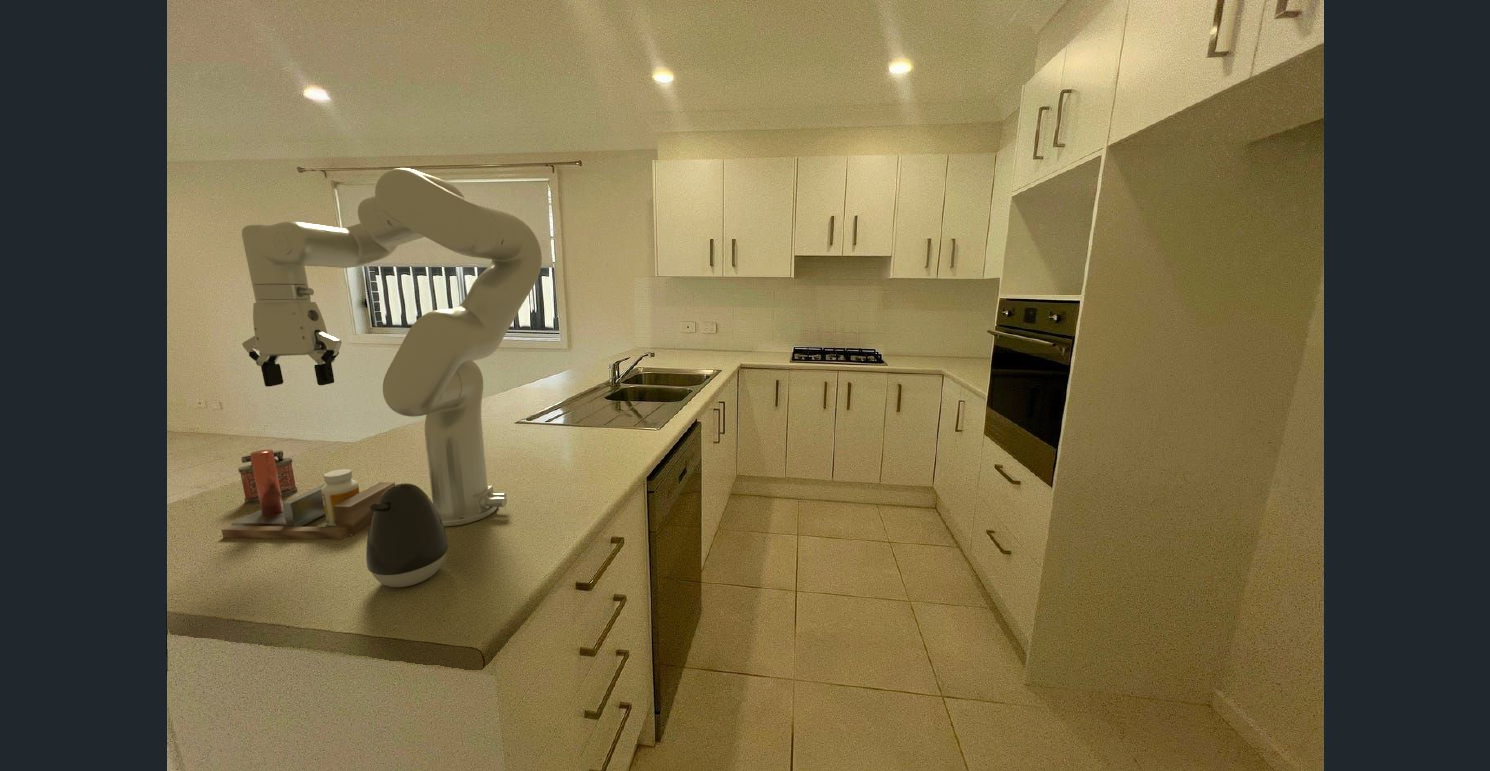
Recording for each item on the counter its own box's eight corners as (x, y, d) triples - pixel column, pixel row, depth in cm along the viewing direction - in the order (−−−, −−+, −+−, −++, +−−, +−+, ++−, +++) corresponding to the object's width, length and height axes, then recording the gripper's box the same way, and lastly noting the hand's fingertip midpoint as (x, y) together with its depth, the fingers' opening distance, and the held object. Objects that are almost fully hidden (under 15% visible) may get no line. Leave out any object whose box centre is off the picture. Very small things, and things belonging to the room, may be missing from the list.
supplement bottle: (370, 514, 93) (363, 468, 91) (345, 527, 88) (337, 478, 86) (345, 513, 94) (338, 466, 92) (318, 526, 88) (310, 477, 87)
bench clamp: (403, 504, 98) (400, 479, 97) (347, 539, 84) (342, 510, 83) (296, 503, 98) (292, 478, 97) (223, 537, 84) (217, 508, 83)
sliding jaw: (337, 507, 95) (327, 445, 93) (295, 529, 86) (282, 461, 84) (279, 507, 95) (268, 444, 93) (232, 529, 86) (217, 460, 84)
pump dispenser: (350, 596, 68) (335, 498, 65) (405, 557, 78) (393, 470, 76) (419, 600, 68) (406, 501, 65) (464, 560, 78) (455, 473, 75)
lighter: (295, 488, 105) (287, 445, 103) (299, 492, 103) (291, 448, 101) (243, 501, 98) (234, 455, 96) (246, 505, 96) (237, 458, 94)
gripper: (346, 294, 92) (361, 380, 96) (254, 295, 92) (272, 382, 95) (313, 294, 85) (330, 387, 88) (213, 295, 84) (234, 389, 88)
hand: (300, 384), depth 92 cm, fingers open, 9 cm apart
